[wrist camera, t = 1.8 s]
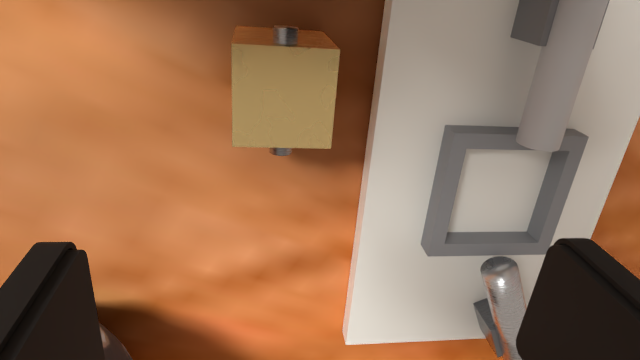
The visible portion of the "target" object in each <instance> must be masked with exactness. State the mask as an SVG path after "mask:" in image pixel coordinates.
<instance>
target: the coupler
mask: <svg viewBox="0 0 640 360" xmlns="http://www.w3.org/2000/svg"><path fill="white" fill-rule="evenodd" d="M231 55H232V147H269V148H270V153H271V154H273V155H278V156H286V155H289V154H291V153H292V148H318V149H331V143H332V132H333V122H334V111H335V100H336V90H337V79H338V68H339V57H340V49H339V48H338V47H337V46H336V45H335V44H334V42H333V41H332V40H331V39H330V38H329V37H328V36H327V35H326V34H325V33H324V32H323V31H314V30H298V27H294V26H286V25H275V26H273V28H265V27H249V26H236V27H235V31H234V35H233V39H232V43H231Z"/></svg>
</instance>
